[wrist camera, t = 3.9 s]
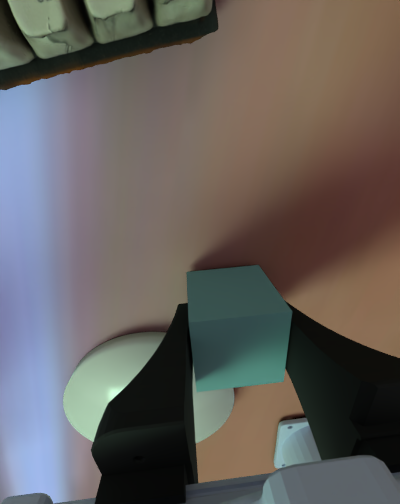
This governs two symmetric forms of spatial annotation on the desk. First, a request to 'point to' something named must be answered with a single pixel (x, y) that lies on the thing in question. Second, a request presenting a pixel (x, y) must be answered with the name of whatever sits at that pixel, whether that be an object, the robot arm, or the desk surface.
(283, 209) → the desk surface
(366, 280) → the desk surface
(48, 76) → the mechanical keyboard
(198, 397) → the dish
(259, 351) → the teal block
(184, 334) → the robot arm
